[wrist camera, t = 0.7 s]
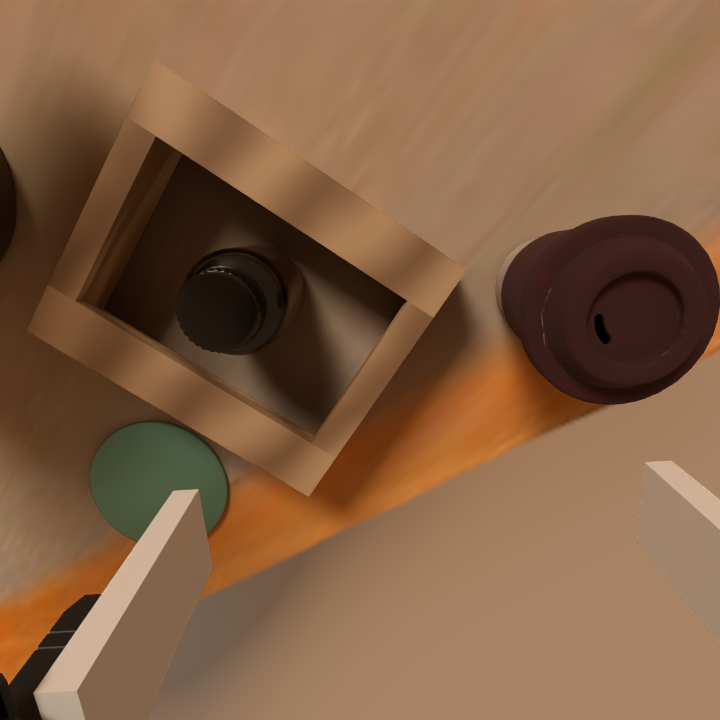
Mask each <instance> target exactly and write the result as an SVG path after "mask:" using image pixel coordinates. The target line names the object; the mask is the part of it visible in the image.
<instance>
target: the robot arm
mask: <svg viewBox="0 0 720 720" xmlns="http://www.w3.org/2000/svg"><path fill="white" fill-rule="evenodd" d="M15 214H16V203H15V193H14V187H13V183H12V179H11V175H10V172H9V169H8V166H7V164H6V161H5V159H4V157H3V155H2V153H1V151H0V259H1V258H2V256H3V255H4V253H5V251H6V249H7V247H8V245H9V243H10V240H11V237H12V234H13V229H14V224H15ZM637 544H638V545H639V547H640V548H641V549H642V550H643V551H644V553H645V554H646V555H647V556H648V558H649V559H650V560H651V561H652V562H653V564H654V565H655V566H656V567H657V568H658V570H659V571H660V572H661V573H662V575H663V576H664V577H665V578H666V579H667V581H668V582H669V583H670V584H671V585H672V587H673V588H674V589H675V590H676V592H677V593H678V594H679V595H680V596H681V598H682V599H683V600H684V601H685V603H686V604H687V605H688V606H689V607H690V608H691V610H692V611H693V612H694V614H696V616H697V617H698V618H699V620H700V621H701V622H702V623H703V624H704V626H705V627H706V628H707V629H708V631H709V632H710V633H711V634H712V635H713V637H714V638H715V639H716V640H717V642H718V643H719V644H720V500H719V499H718V498H717V497H716V496H714V495H713V494H712V493H711V492H709V491H708V490H707V489H706V488H704V487H703V486H702V485H700V484H699V483H698V482H697V481H696V480H694V479H693V478H692V477H691V476H689V475H688V474H687V473H686V472H685V471H683V470H682V469H681V468H680V467H678V466H677V465H676V464H675V463H674V462H672V461H658V462H645V463H644V473H643V485H642V495H641V506H640V517H639V528H638V539H637ZM212 568H213V565H212V560H211V554H210V549H209V544H208V538H207V533H206V527H205V522H204V516H203V511H202V505H201V500H200V494H199V489H193V490H177V491H173V492H172V493H171V495H170V496H169V498H168V499H167V501H166V502H165V503H164V505H163V506H162V508H161V509H160V511H159V512H158V514H157V515H156V516H155V518H154V519H153V521H152V522H151V524H150V525H149V527H148V528H147V529H146V531H145V532H144V534H143V535H142V537H141V538H140V540H139V541H138V542H137V544H136V545H135V547H134V548H133V550H132V551H131V553H130V554H129V555H128V557H127V558H126V560H125V561H124V563H123V564H122V566H121V567H120V568H119V570H118V571H117V573H116V574H115V576H114V577H113V579H112V580H111V582H110V583H109V584H108V586H107V587H106V589H105V590H104V592H103V593H102V594H94V595H84V596H83V597H82V598H81V599H79V600H78V601H77V602H76V603H74V604H73V605H72V606H71V607H70V608H68V609H67V610H66V611H65V612H64V613H63V614H62V615H61V617H60V618H59V619H58V621H57V622H56V623H55V625H54V626H53V627H52V629H51V630H50V634H47V635H46V637H45V638H44V639H43V641H42V642H41V643H40V645H39V646H38V650H35V651H34V653H33V654H32V655H31V657H30V658H29V659H28V661H27V662H26V663H25V664H24V666H23V667H22V668H21V670H20V671H19V672H18V674H17V675H16V676H15V678H14V679H13V680H12V682H11V683H10V684H9V686H8V683H7V680H6V679H5V677H4V676H3V674H2V673H0V720H147V719H148V716H149V714H150V712H151V709H152V707H153V705H154V702H155V700H156V698H157V695H158V693H159V691H160V689H161V686H162V684H163V682H164V679H165V677H166V675H167V672H168V670H169V667H170V665H171V663H172V661H173V658H174V656H175V654H176V651H177V649H178V647H179V644H180V642H181V640H182V637H183V635H184V633H185V631H186V628H187V626H188V623H189V621H190V619H191V616H192V614H193V612H194V610H195V607H196V605H197V603H198V600H199V598H200V596H201V593H202V591H203V589H204V586H205V584H206V582H207V579H208V577H209V575H210V572H211V570H212Z"/></svg>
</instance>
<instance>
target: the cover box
mask: <svg viewBox="0 0 720 720" xmlns="http://www.w3.org/2000/svg"><path fill="white" fill-rule="evenodd" d="M182 154H184V155H186V156H187V157H189V158H190V159H192V160H193V161H195V162H196V163H198V164H199V165H201V166H202V167H204V168H206V169H207V170H209V171H210V172H212V173H213V174H215V175H216V176H218V177H219V178H221V179H222V180H224V181H225V182H227V183H228V184H230V185H231V186H233V187H235V188H236V189H238V190H239V191H241V192H242V193H244V194H245V195H247V196H248V197H250V198H251V199H253V200H254V201H256V202H257V203H259V204H260V205H262V206H264V207H265V208H267V209H268V210H270V211H271V212H273V213H274V214H276V215H277V216H279V217H280V218H282V219H283V220H285V221H286V222H288V223H289V224H291V225H293V226H294V227H296V228H297V229H299V230H300V231H302V232H303V233H305V234H306V235H308V236H309V237H311V238H312V239H314V240H315V241H317V242H318V243H320V244H322V245H323V246H325V247H326V248H328V249H329V250H331V251H332V252H334V253H335V254H337V255H338V256H340V257H341V258H343V259H344V260H346V261H347V262H349V263H351V264H352V265H354V266H355V267H357V268H358V269H360V270H361V271H363V272H364V273H366V274H367V275H369V276H370V277H372V278H373V279H375V280H376V281H378V282H380V283H381V284H383V285H384V286H386V287H387V288H389V289H390V290H392V291H393V292H395V293H396V294H398V295H399V296H401V297H402V298H404V299H405V300H406V301H405V303H404V304H403V306H402V307H401V309H400V310H399V312H398V313H397V315H396V316H395V318H394V319H393V321H392V322H391V323H390V325H389V326H388V328H387V329H386V331H385V332H384V334H383V335H382V337H381V338H380V340H379V341H378V343H377V344H376V346H375V347H374V349H373V350H372V352H371V353H370V355H369V356H368V358H367V359H366V361H365V362H364V364H363V365H362V367H361V368H360V369H359V371H358V372H357V374H356V375H355V377H354V378H353V380H352V381H351V383H350V384H349V386H348V387H347V389H346V390H345V392H344V393H343V395H342V396H341V398H340V399H339V401H338V402H337V404H336V405H335V407H334V408H333V410H332V411H331V413H330V414H329V415H328V417H327V418H326V420H325V421H324V423H323V424H322V426H321V427H320V429H319V430H318V432H317V433H316V435H315V436H313V435H312V434H310V433H308V432H307V431H305V430H303V429H302V428H300V427H299V426H297V425H295V424H294V423H292V422H290V421H289V420H287V419H285V418H284V417H282V416H280V415H279V414H277V413H275V412H274V411H272V410H270V409H269V408H267V407H265V406H264V405H262V404H260V403H259V402H257V401H256V400H254V399H252V398H251V397H249V396H247V395H246V394H244V393H242V392H241V391H239V390H237V389H236V388H234V387H232V386H231V385H229V384H227V383H226V382H224V381H222V380H221V379H219V378H217V377H216V376H214V375H213V374H211V373H209V372H208V371H206V370H204V369H203V368H201V367H199V366H198V365H196V364H194V363H193V362H191V361H189V360H188V359H186V358H184V357H183V356H181V355H179V354H178V353H176V352H174V351H173V350H171V349H170V348H168V347H166V346H165V345H163V344H161V343H160V342H158V341H156V340H155V339H153V338H151V337H150V336H148V335H146V334H145V333H143V332H141V331H140V330H138V329H136V328H135V327H133V326H131V325H130V324H128V323H127V322H125V321H123V320H122V319H120V318H118V317H117V316H115V315H113V314H112V313H110V312H108V311H107V310H105V309H104V308H105V306H106V304H107V302H108V300H109V298H110V296H111V294H112V292H113V290H114V288H115V286H116V284H117V282H118V280H119V278H120V276H121V274H122V272H123V270H124V268H125V267H126V265H127V263H128V261H129V259H130V257H131V255H132V253H133V251H134V249H135V247H136V245H137V243H138V241H139V239H140V237H141V235H142V233H143V231H144V229H145V227H146V225H147V223H148V221H149V219H150V217H151V215H152V213H153V211H154V209H155V207H156V205H157V203H158V201H159V199H160V197H161V195H162V193H163V191H164V189H165V187H166V186H167V184H168V182H169V180H170V178H171V176H172V174H173V172H174V170H175V168H176V166H177V164H178V162H179V160H180V158H181V156H182ZM466 270H467V269H466V268H464V267H463V266H461V265H460V264H458V263H457V262H455V261H454V260H452V259H451V258H449V257H448V256H446V255H445V254H443V253H442V252H440V251H439V250H437V249H436V248H434V247H433V246H431V245H430V244H428V243H427V242H426V241H424V240H423V239H421V238H420V237H418V236H417V235H415V234H414V233H412V232H411V231H409V230H408V229H406V228H405V227H403V226H402V225H400V224H399V223H397V222H396V221H394V220H393V219H391V218H390V217H388V216H387V215H385V214H384V213H382V212H381V211H380V210H378V209H377V208H375V207H374V206H372V205H371V204H369V203H368V202H366V201H365V200H363V199H362V198H360V197H359V196H357V195H356V194H354V193H353V192H351V191H350V190H348V189H347V188H345V187H344V186H342V185H341V184H339V183H338V182H337V181H335V180H334V179H332V178H331V177H329V176H328V175H326V174H325V173H323V172H322V171H320V170H319V169H317V168H316V167H314V166H313V165H311V164H310V163H308V162H307V161H305V160H304V159H302V158H301V157H299V156H298V155H296V154H295V153H293V152H292V151H291V150H289V149H288V148H286V147H285V146H283V145H282V144H280V143H279V142H277V141H276V140H274V139H273V138H271V137H270V136H268V135H267V134H265V133H264V132H262V131H261V130H259V129H258V128H256V127H255V126H253V125H252V124H250V123H249V122H247V121H246V120H245V119H243V118H242V117H240V116H239V115H237V114H236V113H234V112H233V111H231V110H230V109H228V108H227V107H225V106H224V105H222V104H221V103H219V102H218V101H216V100H215V99H213V98H212V97H210V96H209V95H207V94H206V93H204V92H203V91H202V90H200V89H199V88H197V87H196V86H194V85H193V84H191V83H190V82H188V81H187V80H185V79H184V78H182V77H181V76H179V75H178V74H176V73H175V72H173V71H172V70H170V69H169V68H167V67H166V66H164V65H163V64H161V63H160V62H158V61H157V60H156V59H153V61H152V63H151V65H150V67H149V70H148V72H147V74H146V76H145V78H144V80H143V82H142V84H141V87H140V89H139V91H138V93H137V95H136V97H135V99H134V102H133V104H132V106H131V108H130V110H129V112H128V114H127V117H126V119H125V121H124V123H123V125H122V127H121V129H120V132H119V134H118V136H117V138H116V140H115V142H114V144H113V146H112V149H111V151H110V153H109V155H108V157H107V159H106V161H105V164H104V166H103V168H102V170H101V172H100V174H99V176H98V179H97V181H96V183H95V185H94V187H93V189H92V191H91V193H90V196H89V198H88V200H87V202H86V204H85V206H84V208H83V211H82V213H81V215H80V217H79V219H78V221H77V223H76V226H75V228H74V230H73V232H72V234H71V236H70V238H69V240H68V243H67V245H66V247H65V249H64V251H63V253H62V255H61V258H60V260H59V262H58V264H57V266H56V268H55V270H54V273H53V275H52V277H51V279H50V281H49V283H48V285H47V287H46V290H45V292H44V294H43V296H42V298H41V300H40V302H39V305H38V307H37V309H36V311H35V313H34V315H33V317H32V320H31V322H30V324H29V326H28V328H27V330H26V331H27V332H29V333H31V334H32V335H34V336H36V337H37V338H39V339H41V340H43V341H44V342H46V343H48V344H49V345H51V346H53V347H54V348H56V349H58V350H60V351H61V352H63V353H65V354H66V355H68V356H70V357H71V358H73V359H75V360H77V361H78V362H80V363H82V364H83V365H85V366H87V367H89V368H90V369H92V370H94V371H95V372H97V373H99V374H100V375H102V376H104V377H106V378H107V379H109V380H111V381H112V382H114V383H116V384H117V385H119V386H121V387H123V388H124V389H126V390H128V391H129V392H131V393H133V394H134V395H136V396H138V397H140V398H141V399H143V400H145V401H146V402H148V403H150V404H151V405H153V406H155V407H157V408H158V409H160V410H162V411H163V412H165V413H167V414H168V415H170V416H172V417H174V418H175V419H177V420H179V421H180V422H182V423H184V424H185V425H187V426H189V427H191V428H192V429H194V430H196V431H197V432H199V433H201V434H202V435H204V436H206V437H208V438H209V439H211V440H213V441H214V442H216V443H218V444H219V445H221V446H223V447H225V448H226V449H228V450H230V451H231V452H233V453H235V454H236V455H238V456H240V457H242V458H243V459H245V460H247V461H248V462H250V463H252V464H253V465H255V466H257V467H259V468H260V469H262V470H264V471H265V472H267V473H269V474H270V475H272V476H274V477H276V478H277V479H279V480H281V481H282V482H284V483H286V484H287V485H289V486H291V487H293V488H294V489H296V490H298V491H299V492H301V493H303V494H304V495H306V496H308V497H309V496H310V494H311V493H312V491H313V490H314V489H315V487H316V486H317V484H318V483H319V481H320V480H321V479H322V477H323V476H324V474H325V473H326V471H327V470H328V468H329V467H330V466H331V464H332V463H333V461H334V460H335V458H336V457H337V456H338V454H339V453H340V451H341V450H342V448H343V447H344V446H345V444H346V443H347V441H348V440H349V438H350V437H351V435H352V434H353V433H354V431H355V430H356V428H357V427H358V425H359V424H360V423H361V421H362V420H363V418H364V417H365V415H366V414H367V412H368V411H369V410H370V408H371V407H372V405H373V404H374V402H375V401H376V400H377V398H378V397H379V395H380V394H381V392H382V391H383V390H384V388H385V387H386V385H387V384H388V382H389V381H390V379H391V378H392V377H393V375H394V374H395V372H396V371H397V369H398V368H399V367H400V365H401V364H402V362H403V361H404V359H405V358H406V356H407V355H408V354H409V352H410V351H411V349H412V348H413V346H414V345H415V344H416V342H417V341H418V339H419V338H420V336H421V335H422V333H423V332H424V331H425V329H426V328H427V326H428V325H429V323H430V322H431V321H432V319H433V318H434V316H435V315H436V313H437V312H438V311H439V309H440V308H441V306H442V305H443V303H444V302H445V300H446V299H447V298H448V296H449V295H450V293H451V292H452V290H453V289H454V288H455V286H456V285H457V283H458V282H459V280H460V279H461V277H462V276H463V275H464V273H465V272H466Z"/></svg>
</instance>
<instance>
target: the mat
mask: <svg viewBox="0 0 720 720" xmlns="http://www.w3.org/2000/svg"><path fill="white" fill-rule="evenodd" d="M90 485H91V491H92V495H93V498H94V500H95V503H96V505H97V507H98V509H99V510H100V512H101V513H102V515H103V516H104V517H105V519H106V520H107V521H108V522H109V523H110V524H111V525H112V526H113V527H114V528H115V529H116V530H118V531H119V532H120V533H122V534H123V535H125V536H127V537H128V538H130V539H132V540H134V541H136V542H138V541H139V540H140V538H141V537H142V535H143V534H144V532H145V531H146V529H147V528H148V527H149V525H150V524H151V522H152V521H153V519H154V518H155V516H156V515H157V514H158V512H159V511H160V509H161V508H162V506H163V505H164V503H165V502H166V501H167V499H168V498H169V496H170V495H171V493H172V492H173V491H177V490H193V489H199V494H200V500H201V505H202V511H203V516H204V522H205V527H206V533H207V534H208V533H209V532H210V531H211V530H212V529H213V528H214V526H215V525H216V524H217V522H218V521H219V519H220V517H221V515H222V514H223V512H224V509H225V506H226V503H227V498H228V481H227V477H226V472H225V470H224V467H223V465H222V463H221V461H220V459H219V457H218V456H217V454H216V453H215V452H214V450H213V449H212V448H211V447H210V446H209V445H208V444H207V443H206V442H205V441H204V440H203V439H202V438H200V437H199V436H198V435H196V434H195V433H193V432H191V431H189V430H187V429H185V428H183V427H181V426H178V425H175V424H171V423H167V422H160V421H145V422H138V423H135V424H131V425H128V426H126V427H124V428H122V429H120V430H118V431H117V432H115V433H114V434H113V435H112V436H110V437H109V438H108V439H107V440H106V441H105V442H104V443H103V444H102V445H101V446H100V448H99V449H98V451H97V452H96V454H95V457H94V459H93V462H92V465H91V471H90Z"/></svg>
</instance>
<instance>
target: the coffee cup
mask: <svg viewBox="0 0 720 720" xmlns="http://www.w3.org/2000/svg"><path fill="white" fill-rule="evenodd" d="M495 289H496V298H497V302H498V305H499V307H500V309H501V311H502V313H503V314H504V316H505V318H506V320H507V322H508V324H509V326H510V327H511V329H512V330H513V331H514V332H515V334H516V335H517V336H518V337H519V339H520V340H521V342H522V345H523V348H524V350H525V352H526V354H527V356H528V358H529V360H530V361H531V363H532V364H533V366H534V367H535V368H536V370H537V371H538V372H539V373H540V374H541V375H542V376H543V377H544V378H546V379H547V380H548V381H549V382H550V383H551V384H552V385H553V386H555V387H556V388H557V389H559V390H560V391H562V392H564V393H565V394H567V395H569V396H571V397H574V398H576V399H579V400H582V401H586V402H590V403H596V404H605V405H614V404H624V403H630V402H635V401H638V400H642V399H645V398H647V397H650V396H652V395H654V394H657V393H659V392H661V391H662V390H664V389H666V388H667V387H669V386H670V385H672V384H674V383H675V382H677V381H678V380H679V379H680V378H681V377H682V376H683V375H685V374H686V373H687V372H688V371H689V370H690V369H691V368H692V367H693V366H694V364H695V363H696V362H697V360H698V359H699V358H700V357H701V355H702V354H703V353H704V351H705V349H706V347H707V345H708V343H709V341H710V340H711V338H712V336H713V333H714V330H715V327H716V323H717V320H718V314H719V308H720V290H719V283H718V278H717V274H716V271H715V268H714V266H713V264H712V262H711V260H710V257H709V255H708V254H707V252H706V251H705V250H704V248H703V247H702V246H701V245H700V243H699V242H698V241H697V240H696V239H695V238H694V237H693V236H692V235H690V234H689V233H688V232H686V231H685V230H683V229H682V228H680V227H679V226H677V225H675V224H673V223H670V222H668V221H665V220H662V219H658V218H655V217H649V216H642V215H621V216H610V217H604V218H599V219H595V220H592V221H589V222H586V223H584V224H582V225H579V226H577V227H576V228H574V229H570V230H564V231H558V232H553V233H549V234H546V235H544V236H542V237H539V238H534V239H531V240H529V241H526V242H524V243H523V244H521V245H519V246H518V247H517V248H515V249H514V250H513V251H512V252H511V253H510V254H509V255H508V256H507V258H506V259H505V260H504V262H503V264H502V265H501V267H500V269H499V272H498V275H497V279H496V288H495Z"/></svg>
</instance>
